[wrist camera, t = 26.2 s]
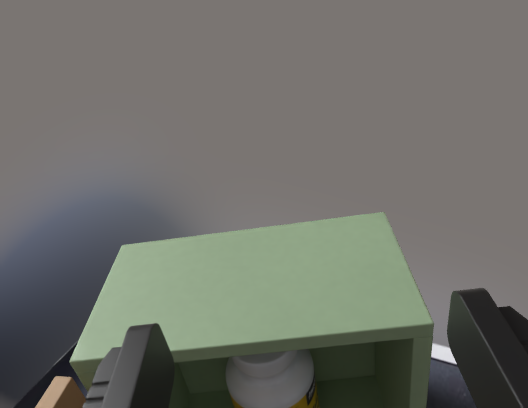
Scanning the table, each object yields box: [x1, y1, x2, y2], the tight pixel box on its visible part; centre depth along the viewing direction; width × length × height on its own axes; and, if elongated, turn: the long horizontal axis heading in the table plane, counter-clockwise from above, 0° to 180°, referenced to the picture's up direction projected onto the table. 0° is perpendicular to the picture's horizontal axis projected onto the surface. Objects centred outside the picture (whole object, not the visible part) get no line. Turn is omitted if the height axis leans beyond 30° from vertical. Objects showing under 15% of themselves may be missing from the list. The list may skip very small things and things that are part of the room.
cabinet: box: [70, 212, 434, 408], centre depth 30 cm, size 10×19×18 cm, turn 90°
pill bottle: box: [225, 349, 320, 408], centre depth 32 cm, size 6×6×12 cm
